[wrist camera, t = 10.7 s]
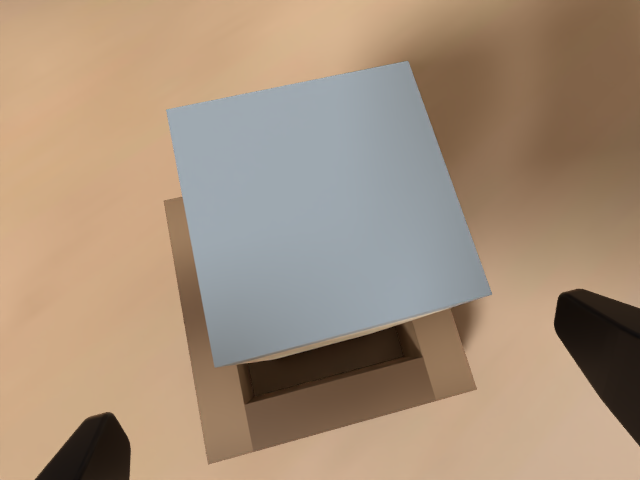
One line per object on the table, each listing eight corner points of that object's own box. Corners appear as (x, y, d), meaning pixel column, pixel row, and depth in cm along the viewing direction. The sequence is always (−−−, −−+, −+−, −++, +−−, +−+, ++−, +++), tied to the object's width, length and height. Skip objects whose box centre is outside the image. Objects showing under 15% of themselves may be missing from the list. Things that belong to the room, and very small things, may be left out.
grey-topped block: (367, 334, 18) (492, 294, 6) (275, 359, 18) (214, 367, 6) (342, 246, 19) (408, 60, 7) (255, 267, 19) (166, 109, 7)
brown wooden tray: (448, 383, 18) (477, 389, 15) (224, 445, 17) (208, 464, 14) (385, 179, 20) (398, 149, 17) (185, 224, 19) (163, 200, 16)
